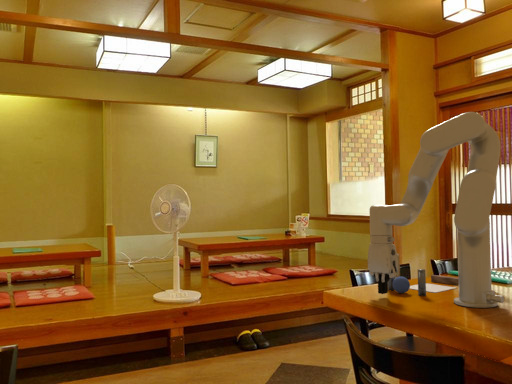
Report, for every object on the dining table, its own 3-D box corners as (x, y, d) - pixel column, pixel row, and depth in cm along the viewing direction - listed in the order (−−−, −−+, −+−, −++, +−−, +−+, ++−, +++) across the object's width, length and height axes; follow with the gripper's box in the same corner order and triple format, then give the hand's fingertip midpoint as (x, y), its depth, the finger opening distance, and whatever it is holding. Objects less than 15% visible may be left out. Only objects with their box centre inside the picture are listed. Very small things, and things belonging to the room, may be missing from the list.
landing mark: (457, 288, 177) (457, 287, 177) (435, 292, 169) (435, 292, 169) (424, 283, 188) (424, 283, 188) (402, 287, 180) (402, 287, 180)
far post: (396, 290, 175) (396, 266, 176) (392, 291, 174) (391, 266, 174) (391, 289, 177) (390, 265, 178) (386, 290, 176) (386, 266, 176)
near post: (427, 295, 165) (426, 269, 165) (423, 296, 163) (422, 270, 163) (421, 294, 167) (420, 268, 167) (416, 295, 165) (416, 269, 165)
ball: (411, 275, 168) (402, 282, 165) (414, 290, 170) (405, 297, 166) (397, 272, 173) (387, 279, 170) (400, 286, 174) (390, 294, 171)
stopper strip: (471, 286, 181) (470, 279, 181) (468, 286, 179) (468, 280, 180) (434, 281, 194) (433, 274, 194) (431, 281, 192) (431, 275, 193)
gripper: (406, 240, 159) (407, 294, 159) (371, 238, 171) (373, 289, 171) (392, 242, 155) (393, 297, 154) (357, 239, 167) (359, 291, 167)
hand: (383, 293), depth 163 cm, fingers closed
